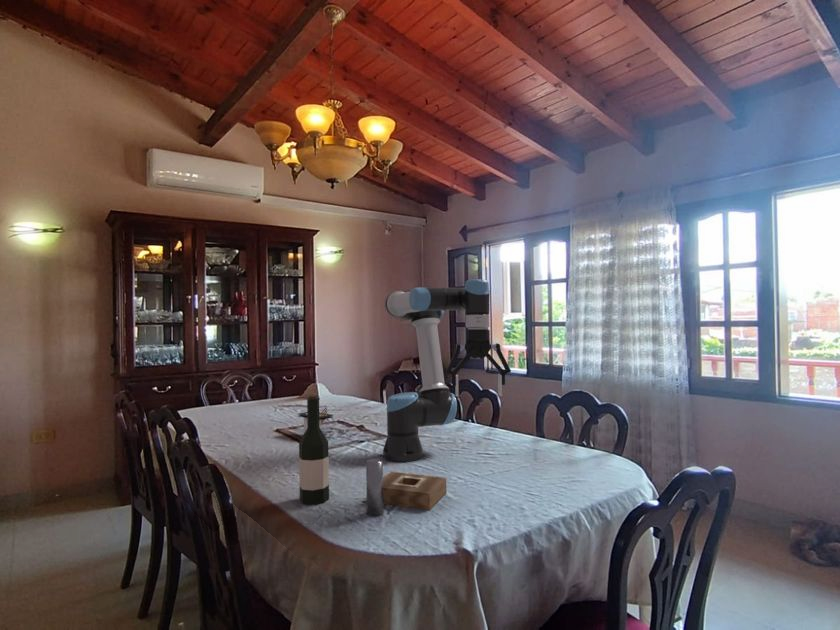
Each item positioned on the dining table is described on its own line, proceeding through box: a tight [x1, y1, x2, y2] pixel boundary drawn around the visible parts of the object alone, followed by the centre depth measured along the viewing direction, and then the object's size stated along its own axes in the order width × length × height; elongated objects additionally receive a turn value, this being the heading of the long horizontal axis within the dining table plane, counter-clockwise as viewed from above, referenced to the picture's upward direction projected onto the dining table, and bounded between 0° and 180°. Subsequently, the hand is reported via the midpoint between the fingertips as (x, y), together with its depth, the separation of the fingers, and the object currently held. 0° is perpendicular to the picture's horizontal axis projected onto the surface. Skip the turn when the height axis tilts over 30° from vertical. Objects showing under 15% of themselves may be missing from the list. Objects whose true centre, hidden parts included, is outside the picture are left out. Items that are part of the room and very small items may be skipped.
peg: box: [365, 458, 384, 518], centre depth 136 cm, size 4×4×14 cm
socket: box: [383, 471, 447, 511], centre depth 148 cm, size 18×14×5 cm
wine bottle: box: [298, 394, 330, 506], centre depth 147 cm, size 8×8×30 cm
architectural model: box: [297, 406, 334, 434], centre depth 224 cm, size 35×28×14 cm
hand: (478, 395), depth 161 cm, fingers open, 13 cm apart
